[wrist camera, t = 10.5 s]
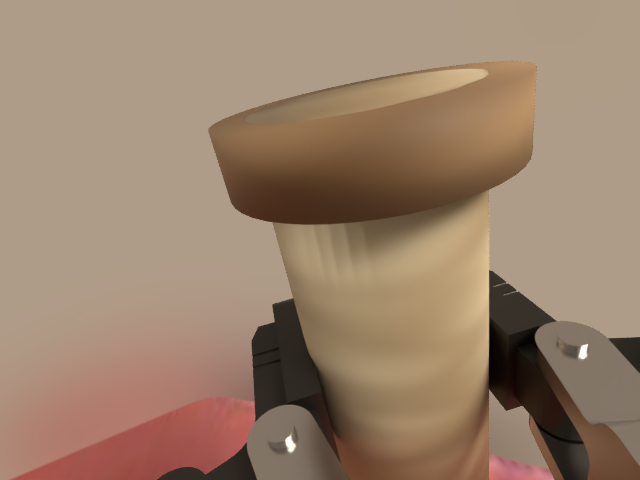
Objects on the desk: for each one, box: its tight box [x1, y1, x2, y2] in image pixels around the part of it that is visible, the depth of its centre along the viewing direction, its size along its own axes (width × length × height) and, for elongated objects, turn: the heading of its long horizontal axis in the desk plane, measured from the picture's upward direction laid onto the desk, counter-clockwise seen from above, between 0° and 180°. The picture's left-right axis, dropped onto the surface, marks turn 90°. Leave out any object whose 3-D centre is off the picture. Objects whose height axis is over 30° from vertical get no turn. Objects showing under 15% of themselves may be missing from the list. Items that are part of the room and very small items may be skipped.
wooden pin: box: [209, 61, 537, 480], centre depth 9 cm, size 5×5×14 cm
